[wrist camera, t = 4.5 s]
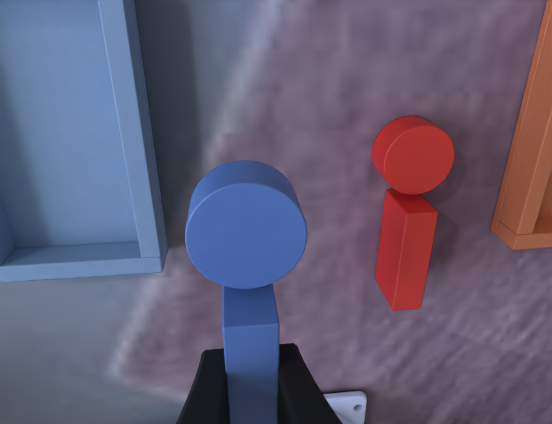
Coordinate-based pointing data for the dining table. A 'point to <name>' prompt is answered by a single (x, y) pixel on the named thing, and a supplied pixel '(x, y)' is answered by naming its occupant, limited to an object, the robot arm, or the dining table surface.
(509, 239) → the terracotta tray
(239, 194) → the blue spoon
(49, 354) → the dining table surface
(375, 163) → the red spoon
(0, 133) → the blue tray
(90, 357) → the dining table surface
